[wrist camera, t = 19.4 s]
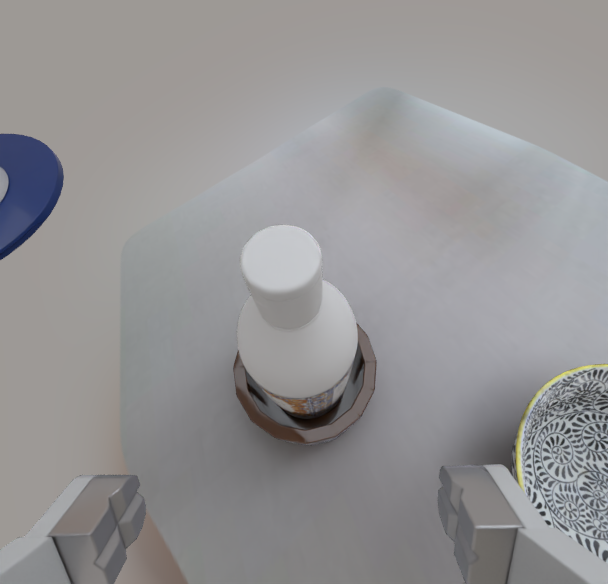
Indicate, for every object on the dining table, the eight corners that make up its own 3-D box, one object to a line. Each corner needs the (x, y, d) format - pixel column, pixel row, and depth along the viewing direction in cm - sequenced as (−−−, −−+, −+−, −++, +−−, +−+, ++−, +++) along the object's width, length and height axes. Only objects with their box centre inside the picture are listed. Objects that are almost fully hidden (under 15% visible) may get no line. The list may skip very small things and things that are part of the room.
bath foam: (253, 379, 29) (141, 260, 11) (306, 328, 31) (283, 157, 13) (307, 438, 26) (273, 404, 9) (361, 378, 28) (423, 250, 11)
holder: (292, 473, 26) (284, 478, 21) (229, 368, 30) (209, 349, 25) (391, 394, 28) (406, 380, 23) (319, 307, 33) (318, 278, 27)
